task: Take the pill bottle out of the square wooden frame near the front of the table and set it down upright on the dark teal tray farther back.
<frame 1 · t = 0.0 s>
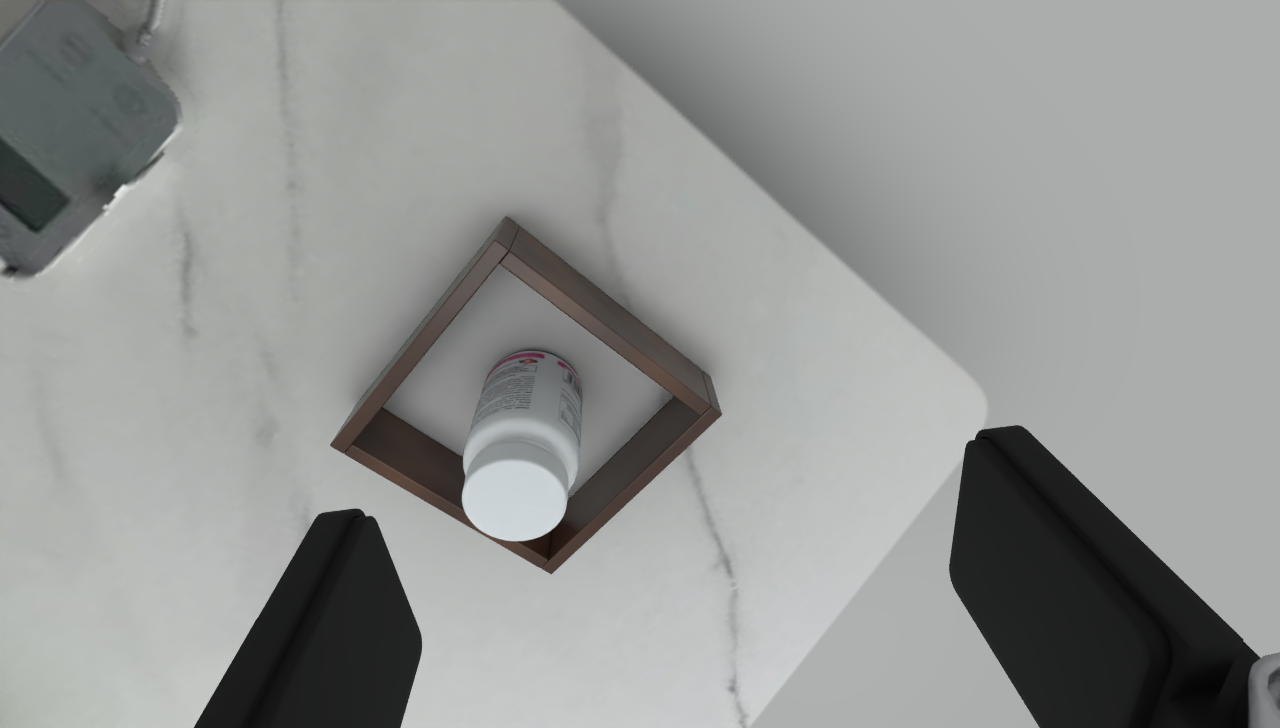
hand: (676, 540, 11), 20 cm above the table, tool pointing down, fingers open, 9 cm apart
square wooden frame: (534, 391, 32), on the table
pill bottle: (534, 389, 33), resting in square wooden frame
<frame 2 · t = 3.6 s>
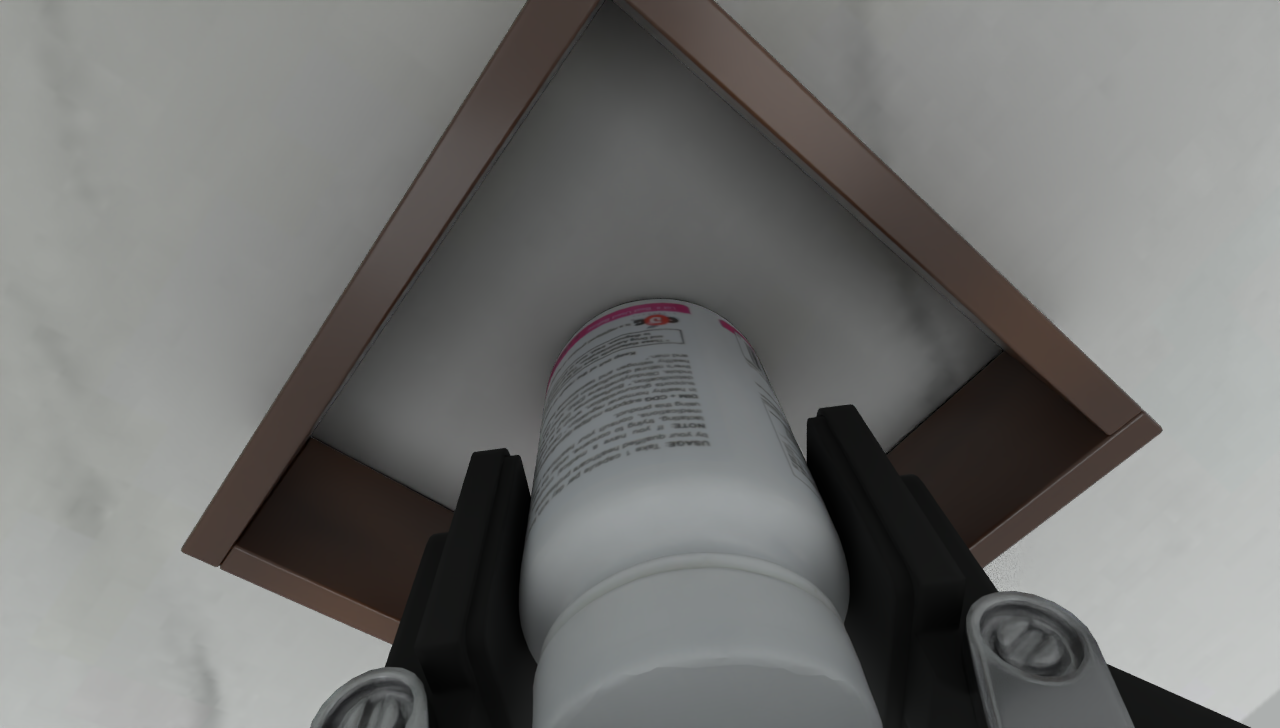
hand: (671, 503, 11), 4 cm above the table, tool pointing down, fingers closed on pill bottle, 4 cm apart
square wooden frame: (655, 392, 15), on the table
pill bottle: (654, 388, 15), resting in square wooden frame, touching gripper
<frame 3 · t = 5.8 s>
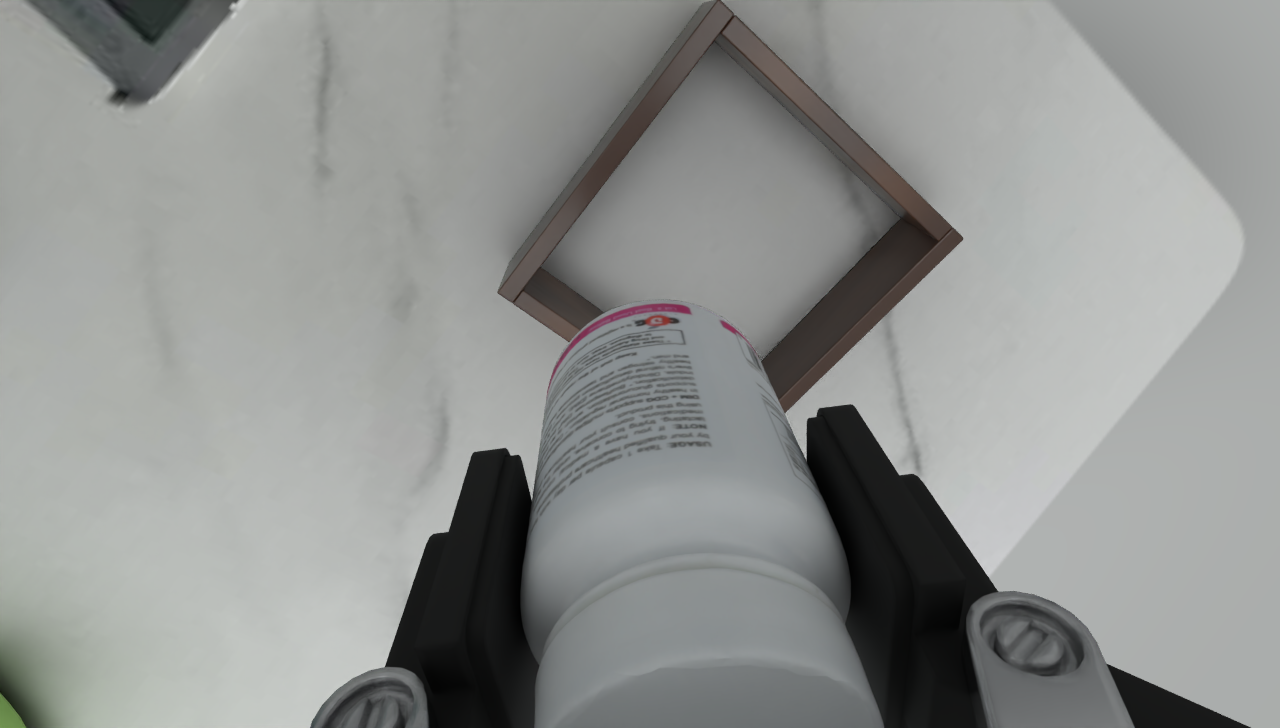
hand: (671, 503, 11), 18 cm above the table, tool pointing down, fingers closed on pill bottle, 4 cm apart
square wooden frame: (716, 239, 28), on the table
pill bottle: (655, 389, 15), point 14 cm above the table, touching gripper
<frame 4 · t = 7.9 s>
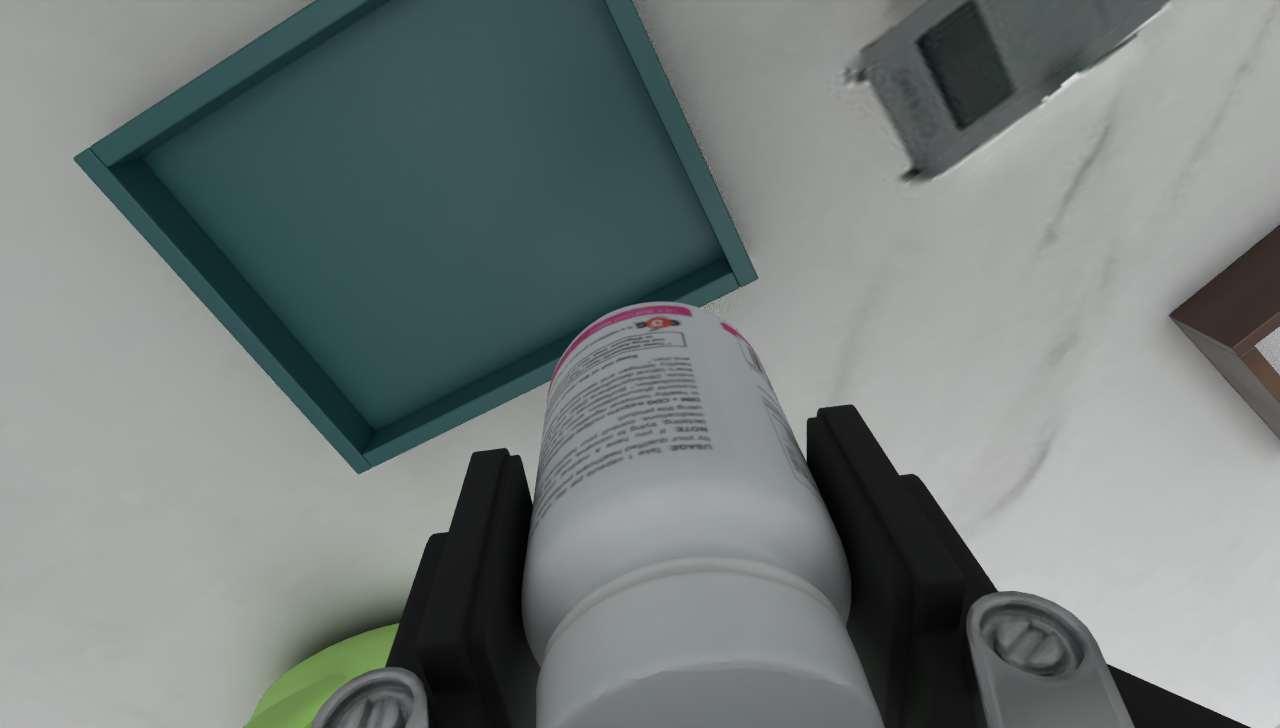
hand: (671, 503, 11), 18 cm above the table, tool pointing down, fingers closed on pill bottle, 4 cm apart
teapot: (459, 690, 41), on the table
pill bottle: (656, 390, 15), point 14 cm above the table, touching gripper
tray: (452, 205, 27), on the table
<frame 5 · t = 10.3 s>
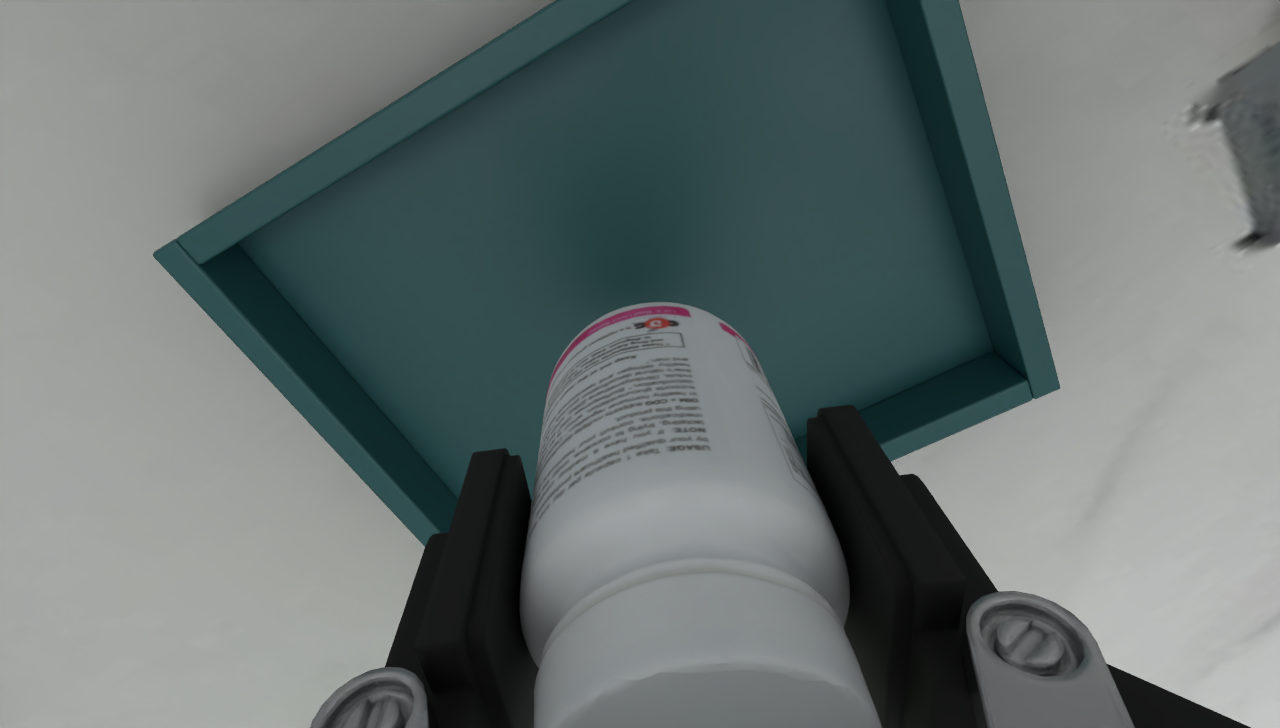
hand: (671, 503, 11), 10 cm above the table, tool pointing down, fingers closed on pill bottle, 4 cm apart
pill bottle: (654, 391, 15), point 6 cm above the table, touching gripper
tray: (640, 292, 20), on the table
when the fingers open (4 cm above the table, at t = 12.1 s): pill bottle stays where it is, resting on tray.
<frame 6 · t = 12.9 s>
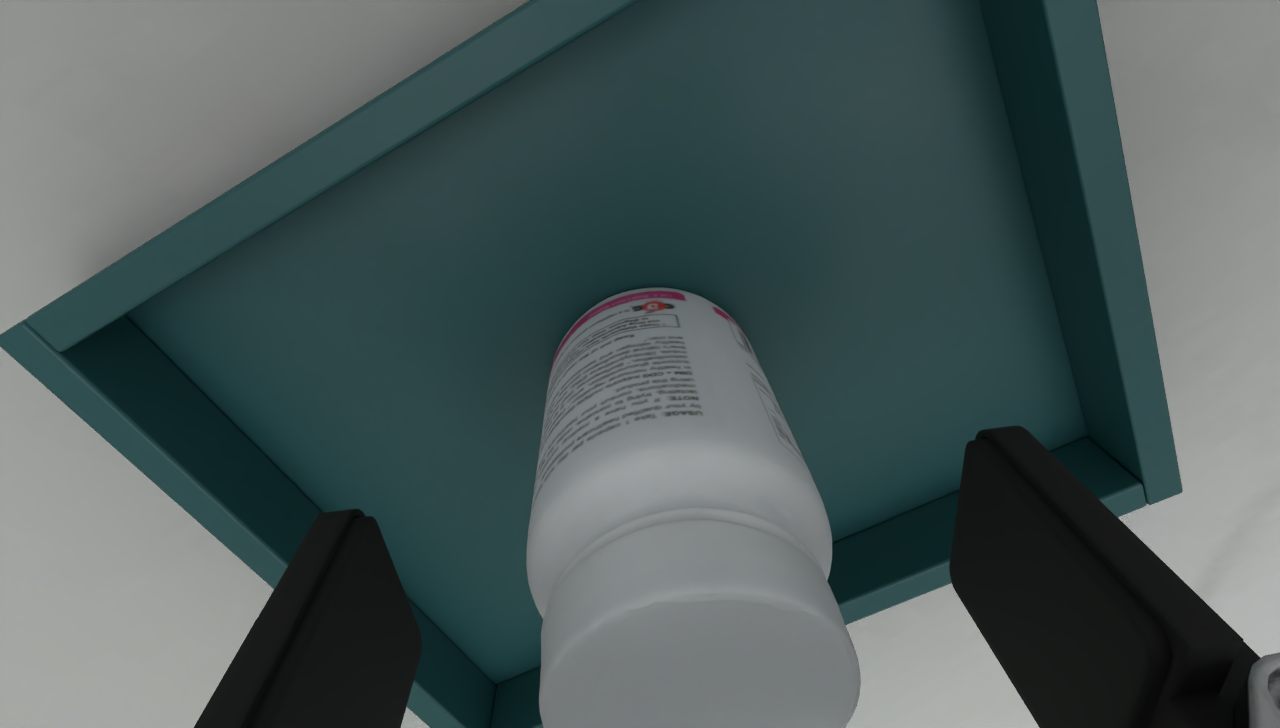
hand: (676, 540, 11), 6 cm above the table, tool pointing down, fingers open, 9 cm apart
pill bottle: (652, 374, 16), resting on tray
tray: (648, 367, 16), on the table
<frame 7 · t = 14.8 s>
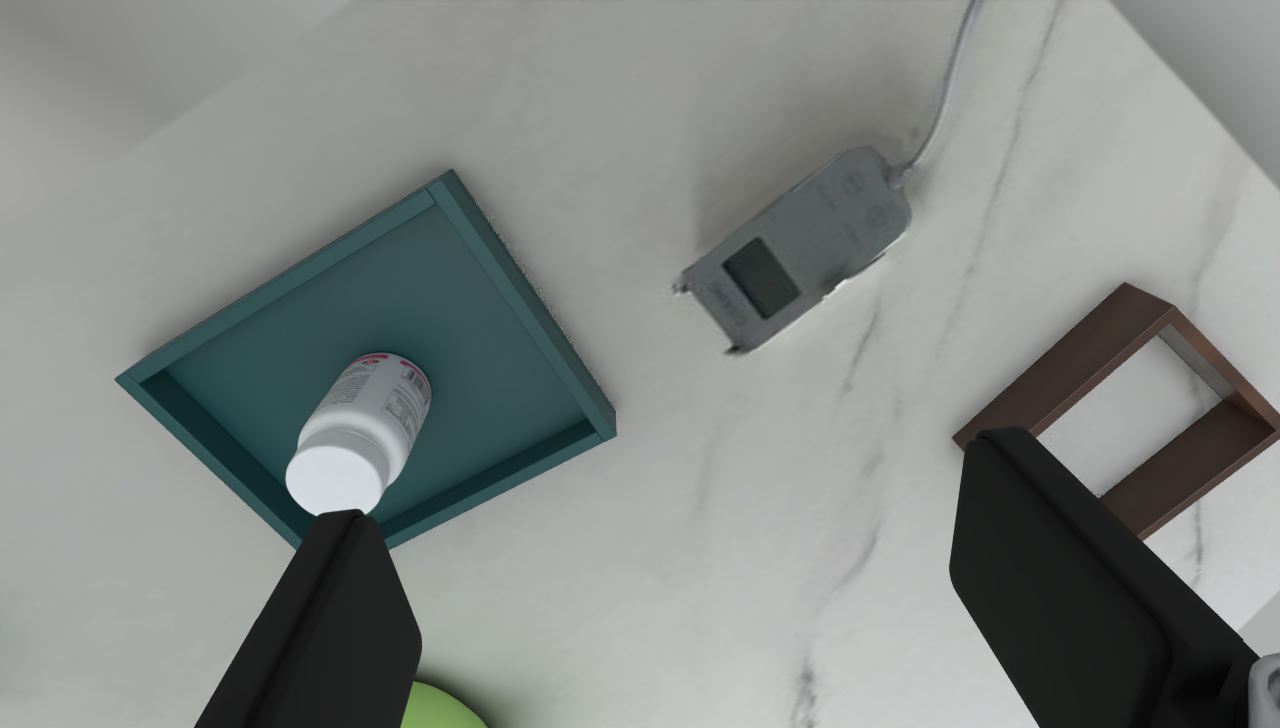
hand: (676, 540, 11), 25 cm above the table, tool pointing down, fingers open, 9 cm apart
square wooden frame: (1095, 418, 40), on the table
pill bottle: (389, 388, 36), resting on tray
tray: (390, 385, 36), on the table
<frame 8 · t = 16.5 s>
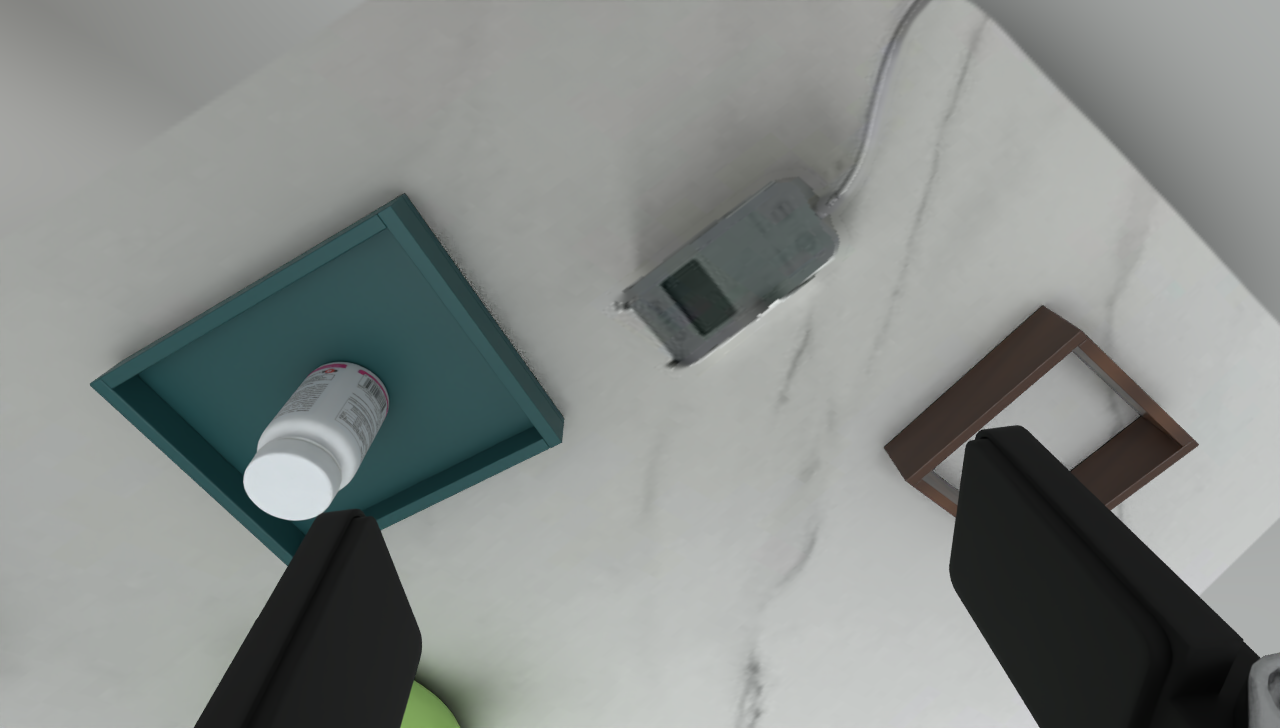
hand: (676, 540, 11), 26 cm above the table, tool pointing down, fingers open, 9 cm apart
teapot: (390, 717, 53), on the table
square wooden frame: (1019, 430, 42), on the table
pill bottle: (349, 394, 38), resting on tray
tray: (351, 391, 39), on the table
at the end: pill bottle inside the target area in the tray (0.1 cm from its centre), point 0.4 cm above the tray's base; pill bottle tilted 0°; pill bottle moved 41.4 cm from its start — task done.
